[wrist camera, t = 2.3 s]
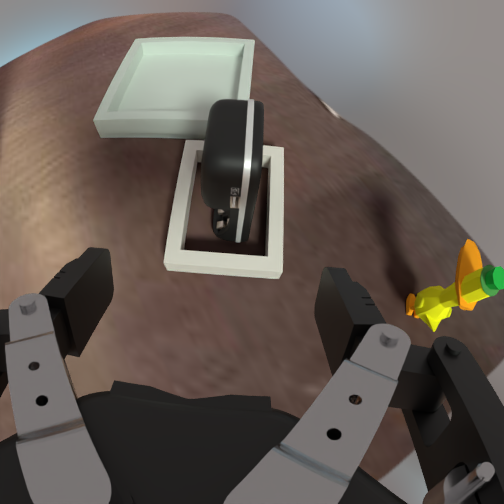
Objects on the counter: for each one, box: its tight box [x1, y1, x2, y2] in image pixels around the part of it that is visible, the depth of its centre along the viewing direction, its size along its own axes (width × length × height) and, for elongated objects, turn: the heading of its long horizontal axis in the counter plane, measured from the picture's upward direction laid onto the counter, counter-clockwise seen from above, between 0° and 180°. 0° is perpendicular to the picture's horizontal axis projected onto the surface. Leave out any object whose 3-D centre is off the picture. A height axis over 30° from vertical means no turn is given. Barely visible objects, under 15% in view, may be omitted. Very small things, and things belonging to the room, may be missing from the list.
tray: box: [93, 37, 255, 140], centre depth 33 cm, size 16×16×3 cm
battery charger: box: [201, 99, 264, 243], centre depth 24 cm, size 7×4×11 cm, turn 178°
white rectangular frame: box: [164, 140, 284, 279], centre depth 28 cm, size 9×12×2 cm
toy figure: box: [406, 239, 504, 332], centre depth 22 cm, size 7×4×12 cm, turn 162°
